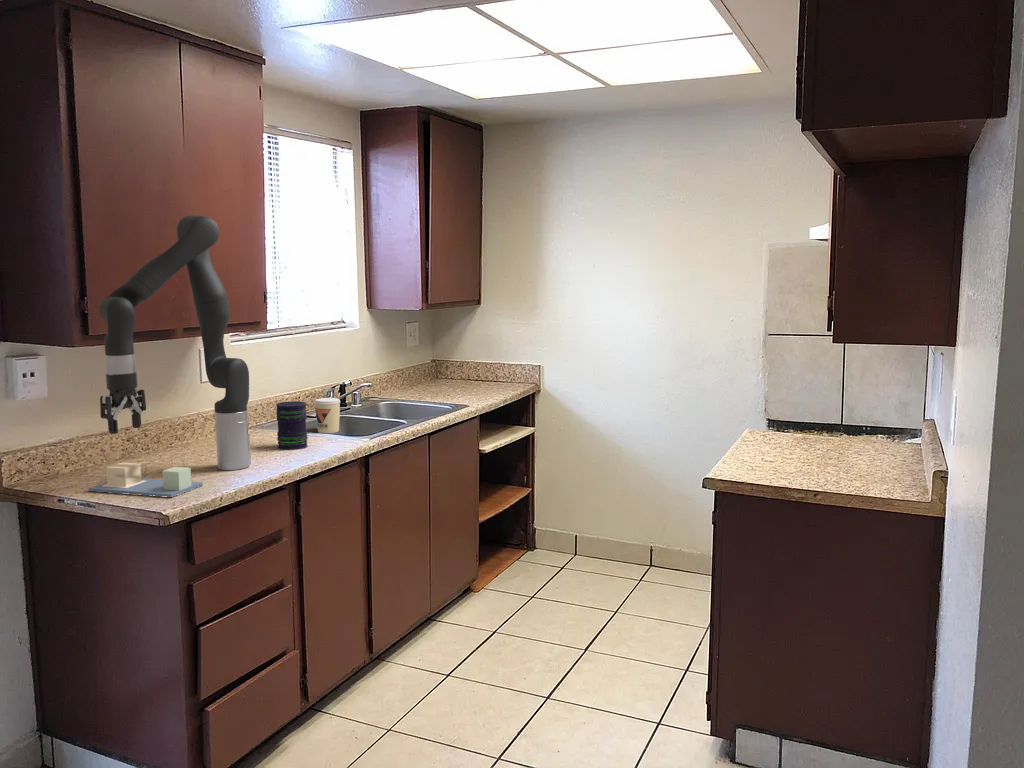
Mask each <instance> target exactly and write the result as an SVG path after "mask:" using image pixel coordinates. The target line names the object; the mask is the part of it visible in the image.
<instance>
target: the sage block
mask: <svg viewBox="0 0 1024 768" xmlns="http://www.w3.org/2000/svg"><path fill="white" fill-rule="evenodd" d="M191 470H192V468H191V467H183V466H182V467H181V466H173V467H169V468H167V469H164V470H162V471H161V472H162V480H163V489H166V490H182V489H185V488H187V487H190V486H192V485H191V482H192V472H191Z"/></svg>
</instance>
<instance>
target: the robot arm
mask: <svg viewBox="0 0 1024 768" xmlns="http://www.w3.org/2000/svg"><path fill="white" fill-rule="evenodd" d="M176 235H177V239H178V240H177V241H176V242H175V243H174V244H173V245H171V246H170V247H169V248H168V249H167V250H165V251H164V252H163V251H162V253H160V254H159V255H157V256H156V257H154V258H153V259H150V260H149V261H148V262H146V263H145V264H144V265H143V266H142V267H140V268H139V269H138V270H136V272H135V273H134V274H133V275H131V277H130V278H129V279H128V280H127V281H126V282H125V283H123V284H122V285H121V286H119V287H118V288H116V289H115V290H114V291H112V292H111V293H110V294H108V295H107V296H106V297H105V298H104V299H103V300H102V301H101V302H100V304H99V308H98V313H99V315H100V317H101V319H103V321H105V322H107V333H106V335H105V336H104V340H103V341H104V353H105V356H104V357H105V359H104V368H105V370H104V371H105V381H106V389H107V390H108V391H109V395H101V396H100V397H99V404H100V405H99V406H100V407H99V408H100V419H104V420H107V427H108V428H107V430H108V432H109V434H112V435H116V434H118V433H119V428H118V425H119V424H118V419H117V418H118V416H119V414H120V413H122V411H123V410H126V409H128V410H129V411H130V413H131V424H132V425H131V426H132V427H133V428H134V429H139V428H141V427H142V426H141V425H142V415H141V414H143V411H145V412H146V410H147V402H146V394H145V389H142V388H141V389H139V388H138V375H137V373H138V372H137V363H136V362H137V361H136V357H135V348H134V339H133V338H134V337H133V336H134V330H135V320H136V315H135V308H136V307H137V306H138V305H139V304H140V303H143V302H145V301H148V300H149V299H150V298H151V297H152V296H154V295H155V293H156V292H158V291H159V290H160V289H161V288H162V286H164V285H165V284H166V282H168V281H169V280H170V279H171V278H172V277H174V275H175V274H177V273H178V272H179V271H180V270H181V269H182V268H183V267H185V266H186V269H187V273H188V279H189V283H190V288H191V292H192V298H193V304H194V307H195V313H196V316H197V320H198V325H199V328H200V330H199V331H200V336H201V341H202V347H203V356H204V366H205V367H204V368H205V372H206V374H205V375H206V377H207V380H208V381H209V384H210V385H211V386H213V387H214V388H217V389H225V393H224V397H223V398H222V399H220V400H217V401H216V402H215V403H214V423H215V441H216V442H215V444H216V459H217V460H216V463H217V469H218V470H222V471H234V470H237V471H238V470H242V469H246V468H249V467H250V465H251V464H252V459H251V458H252V456H251V455H252V453H251V436H250V434H249V424H248V423H249V421H248V403H249V399H250V372H249V371H250V370H249V366H248V364H247V363H246V362H245V360H243V359H241V358H236V357H227V355H226V352H225V351H226V350H225V344H224V338H225V337H224V336H225V333H226V330H227V328H228V324H229V322H230V321H229V320H230V316H231V310H230V305H229V300H228V299H229V298H228V296H227V295H228V294H227V291H226V288H225V286H224V284H223V283H222V281H221V278H220V277H219V275H218V273H217V271H216V269H215V267H214V265H213V262H212V259H211V254H210V248H211V247H212V246H214V245H215V244H216V243H217V241H218V240H219V238H220V228H219V224H217V222H216V221H215V220H214V219H212V218H211V217H209V216H205V215H185V216H183V217H182V218H181V219H179V221H178V224H177V226H176ZM136 388H138V389H136Z"/></svg>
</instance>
